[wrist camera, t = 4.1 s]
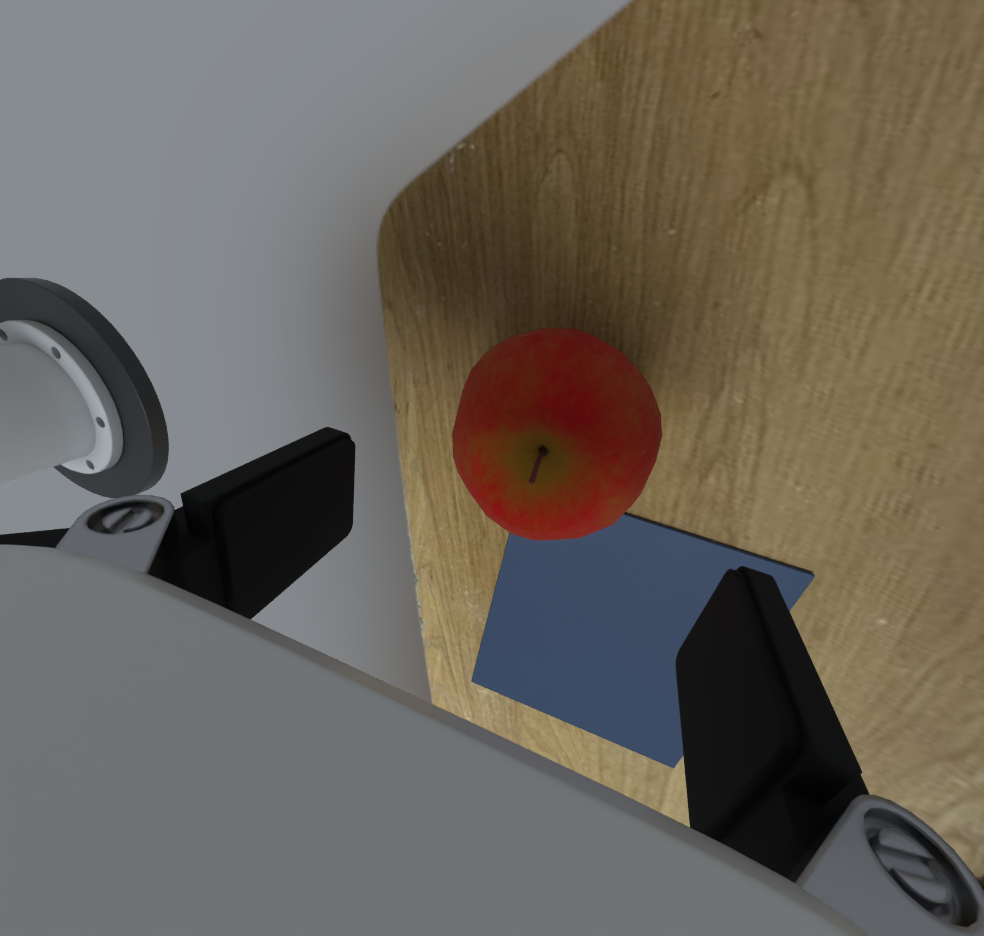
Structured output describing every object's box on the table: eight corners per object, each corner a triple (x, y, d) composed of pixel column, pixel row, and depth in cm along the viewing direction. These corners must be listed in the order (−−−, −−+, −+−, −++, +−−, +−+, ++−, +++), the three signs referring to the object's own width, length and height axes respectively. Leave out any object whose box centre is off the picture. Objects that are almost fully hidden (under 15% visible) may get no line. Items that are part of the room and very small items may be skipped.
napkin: (472, 678, 35) (471, 681, 35) (523, 480, 26) (522, 482, 26) (673, 764, 32) (673, 768, 32) (813, 572, 23) (815, 576, 22)
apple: (481, 342, 23) (378, 383, 14) (637, 292, 20) (641, 301, 10) (523, 477, 26) (460, 588, 16) (666, 453, 22) (691, 575, 13)
